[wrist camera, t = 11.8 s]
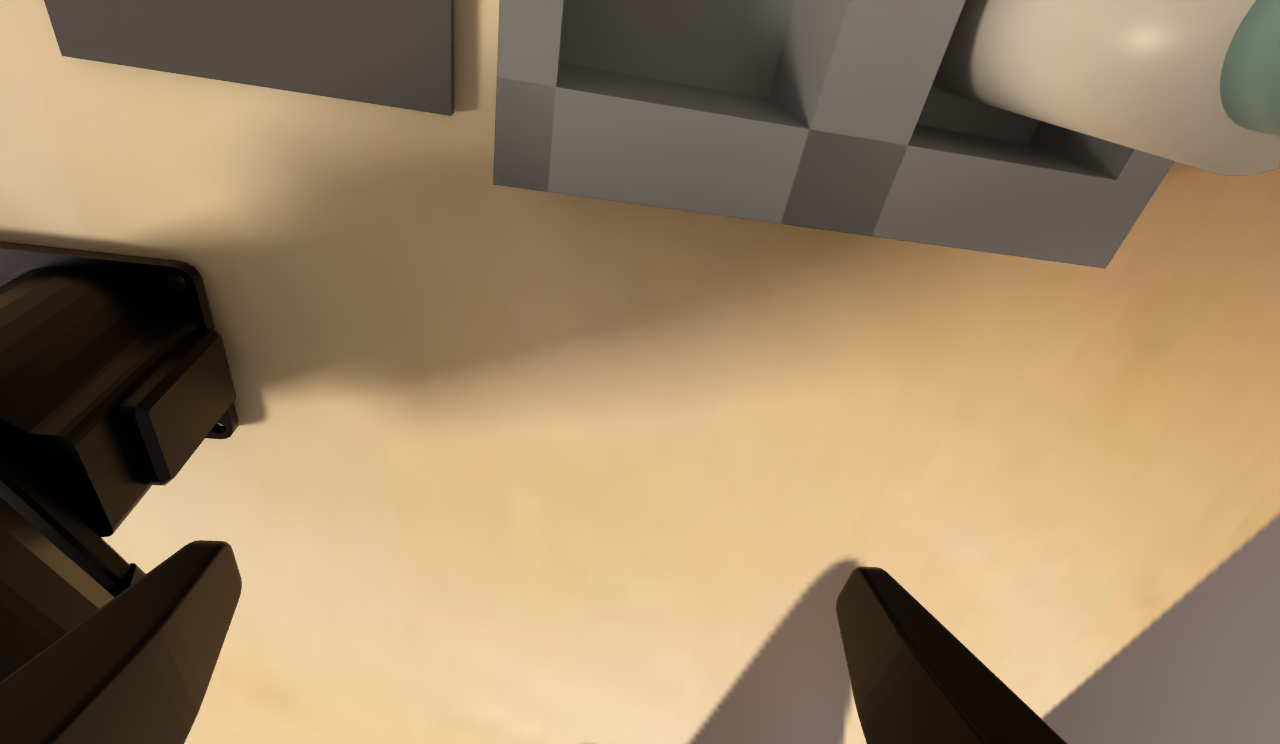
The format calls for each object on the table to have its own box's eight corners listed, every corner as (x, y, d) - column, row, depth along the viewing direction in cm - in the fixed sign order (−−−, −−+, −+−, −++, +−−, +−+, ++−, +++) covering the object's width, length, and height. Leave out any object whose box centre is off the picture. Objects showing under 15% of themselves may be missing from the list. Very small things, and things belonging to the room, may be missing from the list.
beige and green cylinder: (889, 79, 16) (1172, 169, 9) (960, -106, 14) (1409, -200, 7) (1016, 108, 17) (1376, 212, 9) (1101, -64, 15) (1648, -104, 7)
